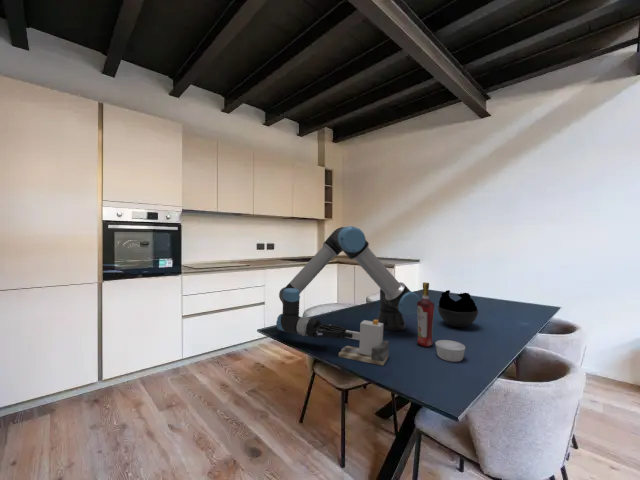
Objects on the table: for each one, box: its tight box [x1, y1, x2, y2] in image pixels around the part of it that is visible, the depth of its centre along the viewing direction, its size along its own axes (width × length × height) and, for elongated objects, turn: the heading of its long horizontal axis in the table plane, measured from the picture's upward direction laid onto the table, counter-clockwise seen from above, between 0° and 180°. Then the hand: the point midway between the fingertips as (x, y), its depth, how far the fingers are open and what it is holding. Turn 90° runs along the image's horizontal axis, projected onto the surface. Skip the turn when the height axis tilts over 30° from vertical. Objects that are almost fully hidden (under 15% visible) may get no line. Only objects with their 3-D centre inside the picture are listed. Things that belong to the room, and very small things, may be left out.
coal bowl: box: [437, 289, 479, 328], centre depth 165 cm, size 20×20×19 cm
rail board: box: [338, 339, 390, 366], centre depth 121 cm, size 18×9×6 cm, turn 64°
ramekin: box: [434, 339, 466, 363], centre depth 122 cm, size 11×11×5 cm
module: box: [358, 318, 384, 356], centre depth 120 cm, size 8×5×13 cm, turn 64°
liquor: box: [416, 282, 435, 348], centre depth 135 cm, size 7×7×28 cm
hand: (360, 336), depth 121 cm, fingers closed
